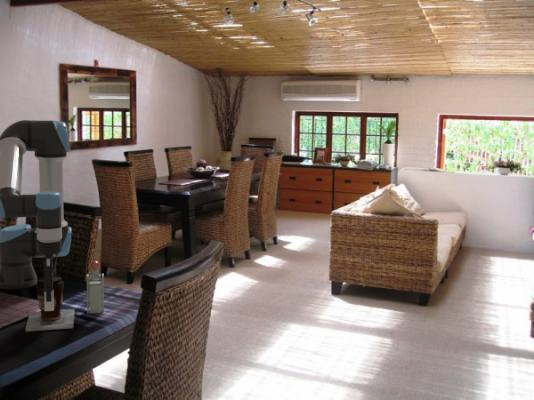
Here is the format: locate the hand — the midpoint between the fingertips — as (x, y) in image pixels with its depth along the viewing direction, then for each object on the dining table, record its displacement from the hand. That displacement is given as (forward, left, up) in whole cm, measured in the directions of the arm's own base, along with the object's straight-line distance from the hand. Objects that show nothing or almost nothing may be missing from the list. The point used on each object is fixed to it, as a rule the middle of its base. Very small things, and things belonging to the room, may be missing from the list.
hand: (50, 303), depth 190 cm
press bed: (0, 0, -6) cm, 6 cm away
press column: (-8, +14, -6) cm, 17 cm away
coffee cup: (0, 0, -5) cm, 5 cm away
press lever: (-2, +14, +8) cm, 16 cm away
